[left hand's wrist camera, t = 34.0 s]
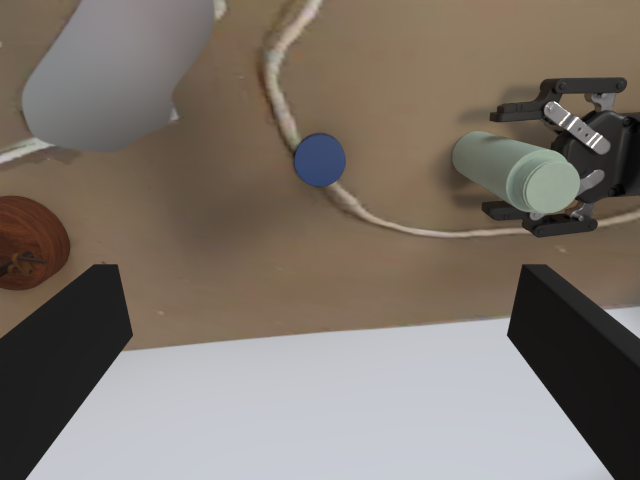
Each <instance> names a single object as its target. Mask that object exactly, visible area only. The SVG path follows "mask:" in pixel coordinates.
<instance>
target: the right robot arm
mask: <svg viewBox="0 0 640 480" xmlns="http://www.w3.org/2000/svg"><path fill="white" fill-rule="evenodd" d="M626 86H627V81H626V79H625V78H622V77H621V78H557V79H545V80H544V81H543V82H542V83H541V85H540V90H541V91H540V93H539V95H538V97H537V98H536V99H535V100H534V101H531V102H520V103H507V104H502V105H500V106H498V107H497V112H491V113H490V121H493V122H510V121H523V120H537V119H540V120H541V121H542V122H543V123H544V124H545V126H546V127H547V128H549V129H550V130H551V131H552V132H554V133H555V134H556V135H558V137H557V138H556V140H555V142H551V149H550V150H553V151H556V152H558V153H560V154H561V155H562V156H563V157H564V158H565V159H566V160H567V162H568V163H570V164H572V166H573V167H574V168H575V169H576V170H577V172H578V174H579V177H580V187H579V191H578V193H577V195H576V197H575V198H574V199H576V200H578V203H577V205H576V206H575V207H573V208H569V209H566V210H565V211H564V212H565V213H563V214H555V215H547V216H544V215H546V214H547V213H544V214H539V213H536V212H525V211H521V210H519V209H517V208H516V207H514V206H512V205H511V204H509V203H507V202H506V201H494V202H483V203H482V211H483V212H485V213H486V214H487V215H488V216H490V217H491V218H492V219H495V220H498V221H499V220H514V219H523V222H522V227H523V228H524V229H526V230H528V231H530V232H531V233H532V234H533V235H535V236H536V237H547V236H555V235H563V234H572V233H580V232H588V231H593V230H594V229H596V227H597V225H598V223H597V221H596V220H594V219H592V212H593V205H594V203H595V202H597V201H598V200H600V199H603V198H606V197H622V196H636V195H640V112H637V113H624V114H617V113H615V112H613V111H612V108H613V104H614V100H615V96H616V93H620V92H622V91H623V90H624V89H625V88H626ZM575 93H585V94H584V97H585V99H586V101H587V102H590V103H593V104H594V106H595V110H593V111H591V112H589V113H588V114H587V115H585V116H584V117H583V118H581V119H579V118H578V117H576V116H574V115H572V114H570V113H568V112H567V111H566V110H565V109H564V108H562V107H561V106H560V105H559V104H558V102H559V100H560V98H561V96H562V94H575Z"/></svg>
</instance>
